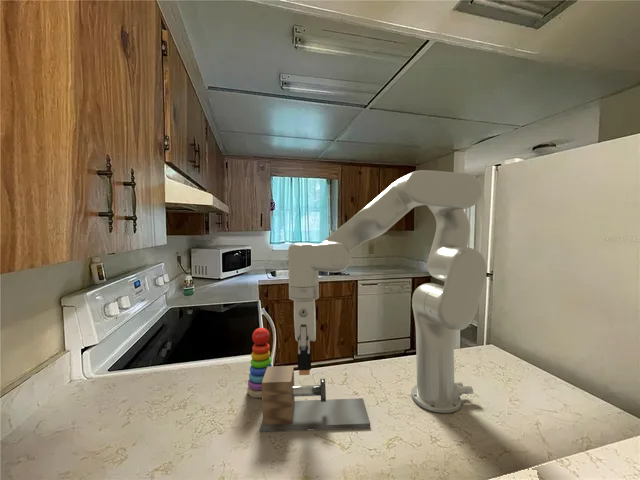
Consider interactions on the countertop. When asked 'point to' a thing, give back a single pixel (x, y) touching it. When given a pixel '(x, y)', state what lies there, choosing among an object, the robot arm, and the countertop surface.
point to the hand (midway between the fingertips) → (304, 362)
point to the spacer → (304, 372)
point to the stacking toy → (259, 362)
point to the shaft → (311, 390)
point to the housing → (305, 407)
